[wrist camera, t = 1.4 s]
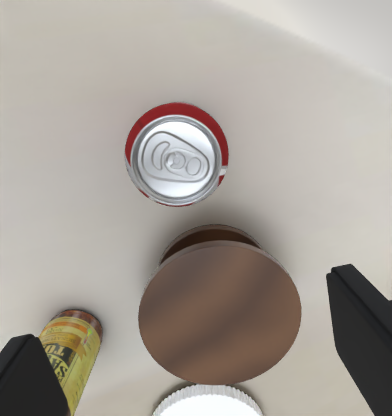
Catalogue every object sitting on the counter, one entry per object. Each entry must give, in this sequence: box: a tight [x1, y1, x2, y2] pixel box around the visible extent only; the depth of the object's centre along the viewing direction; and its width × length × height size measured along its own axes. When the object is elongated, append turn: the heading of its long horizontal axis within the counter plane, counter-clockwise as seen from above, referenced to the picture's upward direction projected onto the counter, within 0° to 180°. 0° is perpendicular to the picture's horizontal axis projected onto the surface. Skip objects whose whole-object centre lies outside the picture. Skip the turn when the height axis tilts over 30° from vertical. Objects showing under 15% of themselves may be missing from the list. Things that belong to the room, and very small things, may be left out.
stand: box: [138, 225, 301, 385], centre depth 33 cm, size 14×14×8 cm
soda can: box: [125, 102, 229, 207], centre depth 26 cm, size 7×7×12 cm
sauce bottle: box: [38, 310, 102, 416], centre depth 28 cm, size 7×6×20 cm
